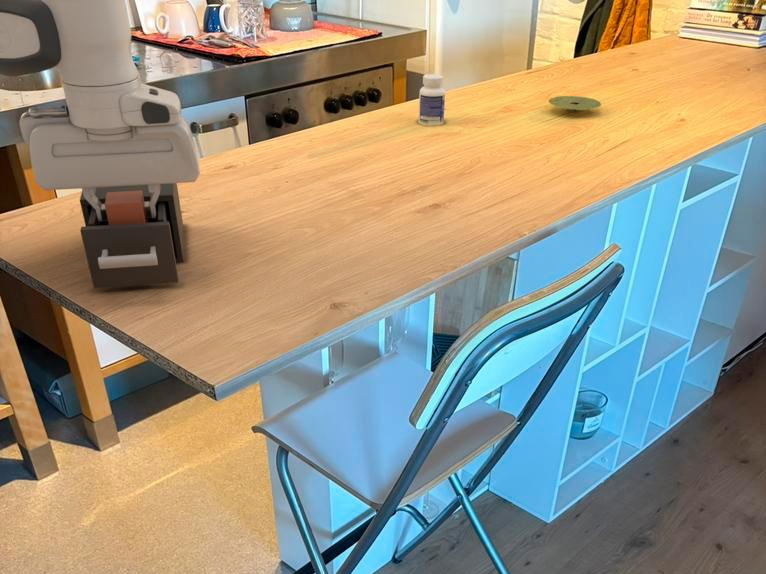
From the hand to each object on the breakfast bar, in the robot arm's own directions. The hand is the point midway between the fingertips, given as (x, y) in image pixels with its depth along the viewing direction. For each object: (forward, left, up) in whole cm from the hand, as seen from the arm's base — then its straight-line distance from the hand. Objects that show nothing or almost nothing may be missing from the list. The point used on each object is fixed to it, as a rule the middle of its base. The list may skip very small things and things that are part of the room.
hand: (128, 218), depth 106 cm
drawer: (0, -1, -7) cm, 7 cm away
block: (0, 0, -2) cm, 2 cm away
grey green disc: (+90, +70, -8) cm, 114 cm away
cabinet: (0, +10, -8) cm, 13 cm away
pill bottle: (+57, +66, -8) cm, 88 cm away
